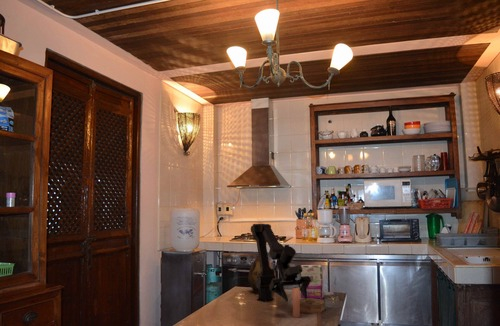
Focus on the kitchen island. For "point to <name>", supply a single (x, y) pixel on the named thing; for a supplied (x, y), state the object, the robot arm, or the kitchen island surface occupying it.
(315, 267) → the candy bar box
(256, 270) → the ceramic jug
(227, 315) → the kitchen island surface
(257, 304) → the kitchen island surface
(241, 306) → the kitchen island surface
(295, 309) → the dowel
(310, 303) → the wooden bowl
